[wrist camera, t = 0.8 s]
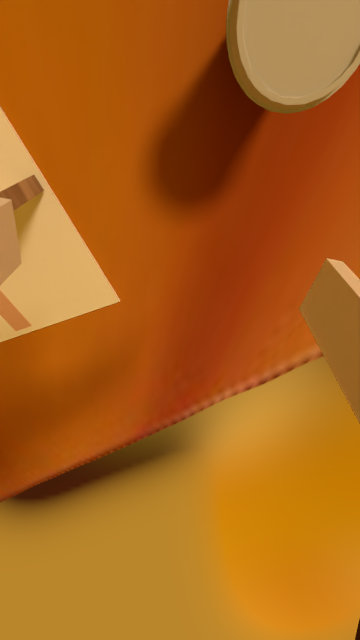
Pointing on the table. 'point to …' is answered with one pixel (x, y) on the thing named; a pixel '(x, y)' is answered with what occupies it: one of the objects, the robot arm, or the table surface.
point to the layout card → (44, 254)
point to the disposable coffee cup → (292, 49)
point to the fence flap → (22, 191)
